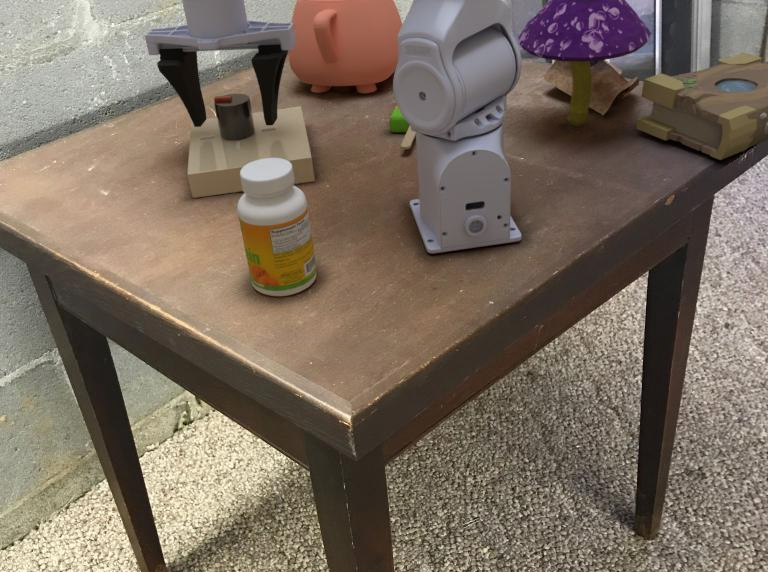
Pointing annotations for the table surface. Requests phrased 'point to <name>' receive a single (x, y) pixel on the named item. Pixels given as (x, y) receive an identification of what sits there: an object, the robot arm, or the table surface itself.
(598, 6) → the decorative mushroom
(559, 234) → the table surface
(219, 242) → the table surface
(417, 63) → the robot arm
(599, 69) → the crumpled paper bag
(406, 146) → the popsicle
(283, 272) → the supplement bottle
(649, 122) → the book
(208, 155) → the beige flat block
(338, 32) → the pink rounded body
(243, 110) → the knob
